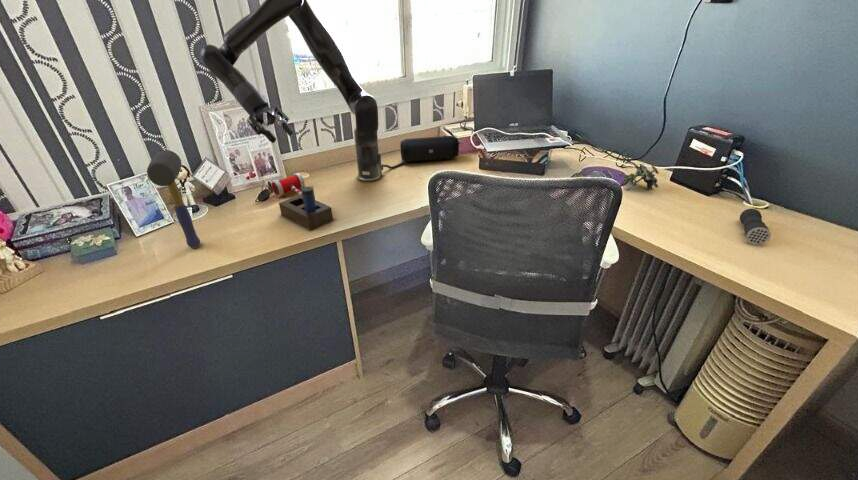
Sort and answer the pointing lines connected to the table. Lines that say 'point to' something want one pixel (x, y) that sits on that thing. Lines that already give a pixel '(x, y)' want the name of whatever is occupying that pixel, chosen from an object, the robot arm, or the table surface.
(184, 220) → the rubber mallet
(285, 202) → the holder
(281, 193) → the toy hammer
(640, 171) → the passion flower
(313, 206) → the handle
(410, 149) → the portable speaker
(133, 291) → the table surface
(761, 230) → the flashlight
